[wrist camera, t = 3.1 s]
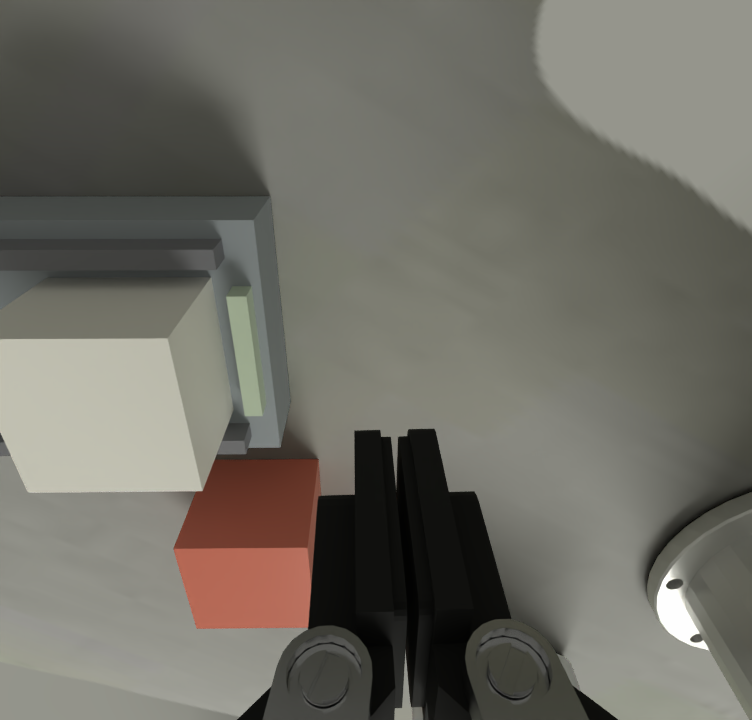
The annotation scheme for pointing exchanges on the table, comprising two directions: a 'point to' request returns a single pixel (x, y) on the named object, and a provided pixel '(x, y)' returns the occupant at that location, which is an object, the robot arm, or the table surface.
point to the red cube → (251, 544)
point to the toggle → (113, 384)
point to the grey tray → (170, 259)
